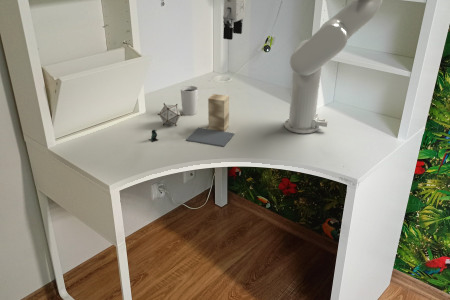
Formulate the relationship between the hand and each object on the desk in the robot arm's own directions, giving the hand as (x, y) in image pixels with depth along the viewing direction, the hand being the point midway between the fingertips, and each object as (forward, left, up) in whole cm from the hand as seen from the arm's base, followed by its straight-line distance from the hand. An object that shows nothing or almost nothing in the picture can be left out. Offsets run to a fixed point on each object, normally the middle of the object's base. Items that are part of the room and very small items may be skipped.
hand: (232, 36), depth 153 cm
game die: (+19, +14, -31) cm, 39 cm away
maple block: (+1, +11, -31) cm, 33 cm away
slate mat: (+1, +19, -31) cm, 36 cm away
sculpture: (+19, +28, -32) cm, 46 cm away
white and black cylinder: (+17, +1, -31) cm, 36 cm away
